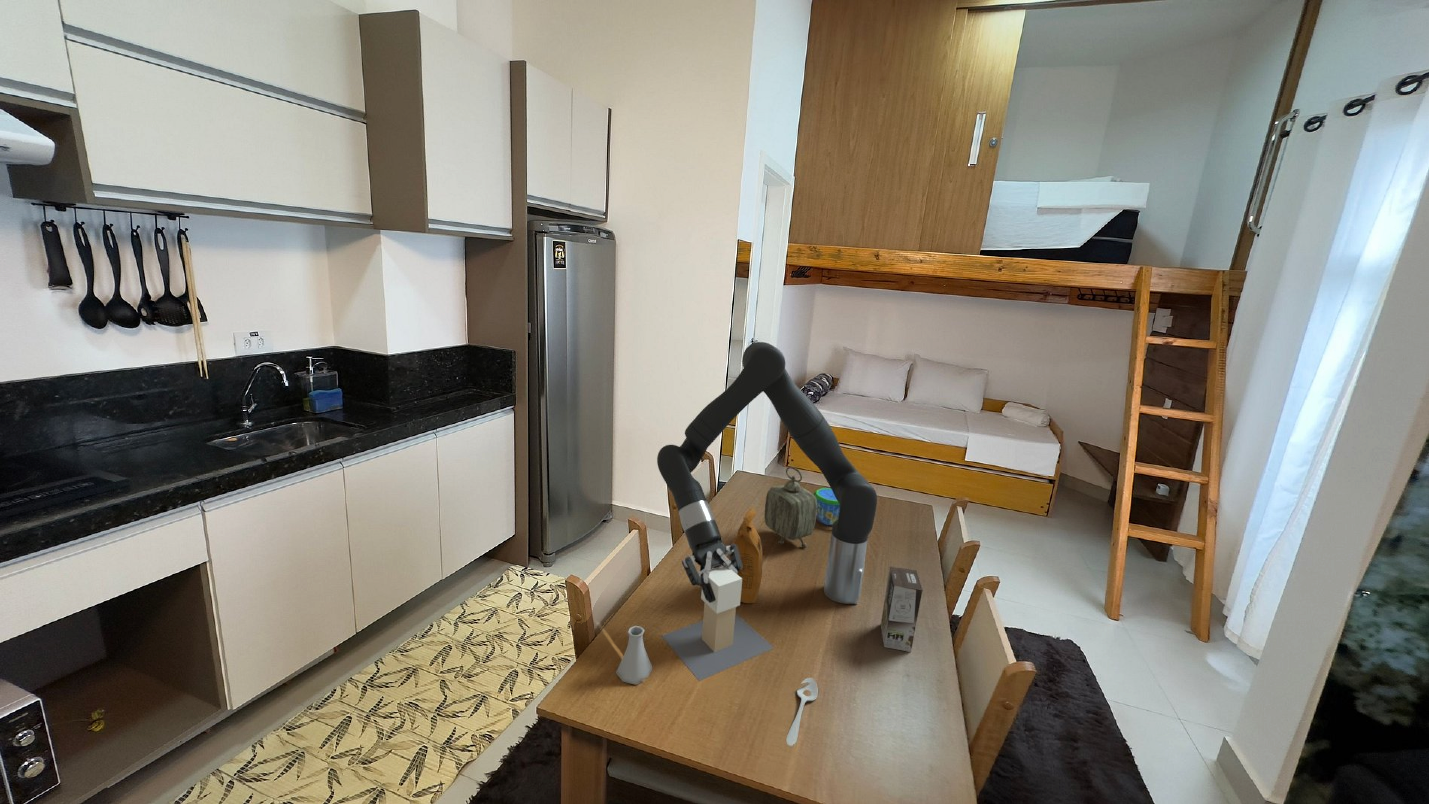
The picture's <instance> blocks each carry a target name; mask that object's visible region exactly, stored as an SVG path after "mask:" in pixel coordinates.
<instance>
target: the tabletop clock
mask: <svg viewBox="0 0 1429 804" xmlns="http://www.w3.org/2000/svg"><path fill="white" fill-rule="evenodd" d="M789 469H792V470H794V471H796V472H797V473H798V475H799V477H800V479H796V476H795V475H793V476H791V475H790V474H789V473H788V470H789ZM785 473H786V474H785V475H786V476H787V477H788V478H789V479H790V480H787V482H786V483H784V484H781V485H776V486H775V485H774V486H771V488H769V490H768V491H767V494H766V497H765V503H764V524H765V525H766V526H767V527H768V528H769V529H770V530H771V531H772V532H774V533H775V534H777V535H779V536H780V539H778V543H779V545H783V544H784V542H785V541H784V539H787V540H789V541H797V540H799V541H800V543H801V544H800V545H801V547H802V548H803V549H805V548H807V547H808V546H807V543H806V542H804V540H803V538H805V537H808V536H812V534H813V533H814V531H815V526H816V520H817V502H816V497H815V496H814V495H813V494H814V493H812V492H810V490H808V489H806V488H804V487H803V486H801V485H800V482H802V480H803V475H802V473H801V470H799V469H798V468H796V467H795V466H788V467H786V470H785Z"/></svg>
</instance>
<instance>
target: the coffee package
mask: <svg viewBox="0 0 1429 804" xmlns="http://www.w3.org/2000/svg"><path fill="white" fill-rule="evenodd" d="M756 515H757V512H756V510H755V509H754V508H749V510H748V511H747V512H746V514H745V515H744V516H743V518H742V519H743V521H742V522H741V524H740V526H739V527H738V529H737V532H736V536H735V538H734V539H733V541H732V543H731V545H733V544H736V545H737V548H738V551H739V555H740V559H741V562H742V566H743V568H742V569H741V570H740V571H739V572H738V573H737V575H738V576H740V577H741V578H742V588H741V599H740V603H744V604H755V603H756V602H757V599H758V596H759V592H760V587H761V582H762V577H763V576H762V575H763V546H762V541H761V537H760V535H759V533H758V531H757V529H756V528H755V526H754V522H753V520H754V518H755V517H756ZM726 557H727V558H728V559H729V560H730V556H729V555H728V554H727V556H726ZM730 561H731V560H730Z"/></svg>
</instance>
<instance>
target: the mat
mask: <svg viewBox="0 0 1429 804" xmlns="http://www.w3.org/2000/svg"><path fill="white" fill-rule="evenodd" d="M702 631H703V620H701V621H697V622H695V623H693V624H690V625H687V626H685V627H682V628H679V629H676V630H673V631H670V632H667V633H665V634H662V635H661V638H662V639H663V640H664V642H666V644H668V646H669V648H671V650H673V652H674V653H675V655H677V657H678V658H679V659H680V660H681V661H682V663H683V664H684V665H685V666H686V667H687V669H689V671H690V672H691V673H692V674H693V675H694V676H695V678H696V679H697V680H698V681H699V682H700V681H702V680H704V679H707V678H709V677H711V676H713V675H716V674H718V673H721V672H724V671H725V670H728V669H730V668H732V667H735V666H736V665H739V664H741V663H744V662H746V661H748V660H750V659H752V658H756V657H758V656H759V655H762V654H764V653H766V652H769V651H771V650H773V649H774V647H773V646H772V645H771V644H770V643H769V642H768V641H767V640H766V639H765V638H763V636H762V635H760V634H759V633H758V632H757V631H756V630H755V629H754V628H753V627H752V626H751V625H750V624H748V623H747V622H746V620H744V619H743V618H742V617H741V616H739V614H738V613H736V612H735V624H734V635H733V645H731V646H728V647H726V648H724V649H721V650H719V651H716V652H714V651H713V650H712V649H711V648H710V647H709V646H708V645H707V644H706V643H705V642H704V641H703V640H702Z"/></svg>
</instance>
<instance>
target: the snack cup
mask: <svg viewBox="0 0 1429 804" xmlns="http://www.w3.org/2000/svg"><path fill="white" fill-rule="evenodd" d="M812 494H813V495H814V496H815V497H816V502H817V512H816V520H817V521H818V522H819V523H821V524H823V525H826V526H833V523H834V522H835V521H836V520H838V517H839V511H840V504H839V502H838V501H837V499H836V497H835V495H834V493H833V491H832V489H831V487H822V488H819V489H816V490H815V491H814V492H813V493H812Z"/></svg>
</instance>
